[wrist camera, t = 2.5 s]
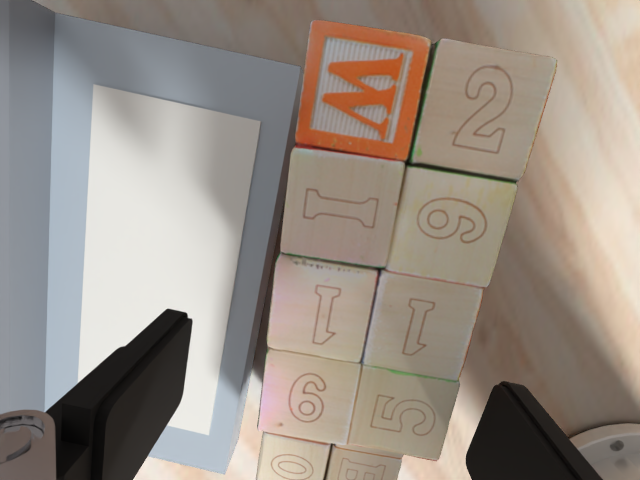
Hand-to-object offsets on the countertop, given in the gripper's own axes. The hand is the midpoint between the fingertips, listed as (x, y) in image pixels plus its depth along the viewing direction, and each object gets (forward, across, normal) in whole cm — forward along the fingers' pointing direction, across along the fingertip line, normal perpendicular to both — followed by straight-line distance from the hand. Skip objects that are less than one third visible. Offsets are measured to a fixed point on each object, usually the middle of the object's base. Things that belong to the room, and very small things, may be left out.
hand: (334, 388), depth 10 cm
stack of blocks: (+13, -1, +1) cm, 13 cm away
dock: (+13, +11, +2) cm, 17 cm away
